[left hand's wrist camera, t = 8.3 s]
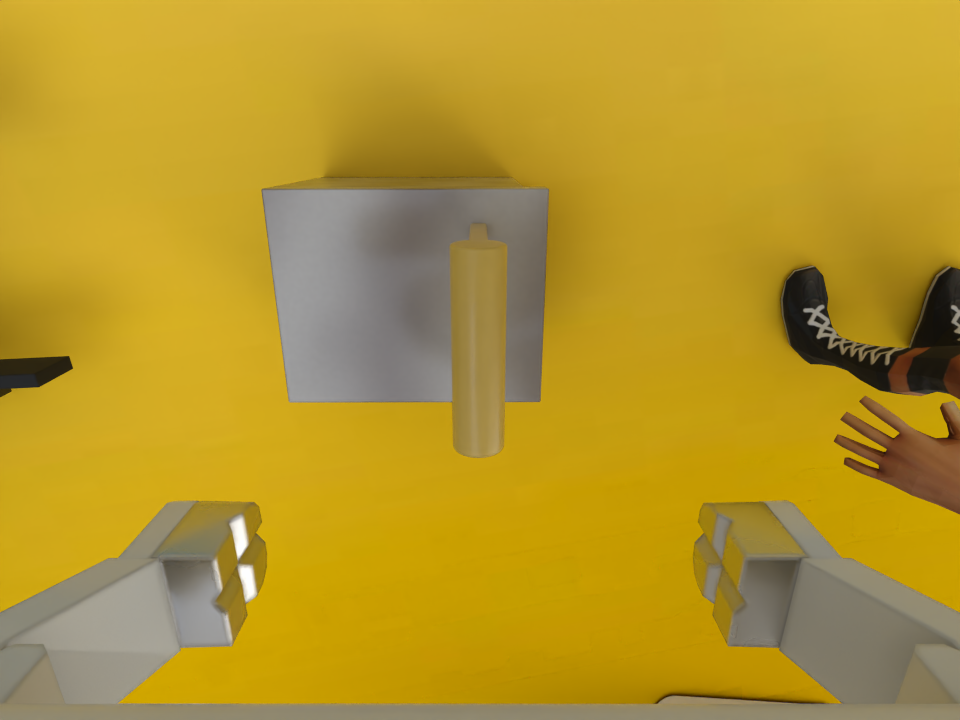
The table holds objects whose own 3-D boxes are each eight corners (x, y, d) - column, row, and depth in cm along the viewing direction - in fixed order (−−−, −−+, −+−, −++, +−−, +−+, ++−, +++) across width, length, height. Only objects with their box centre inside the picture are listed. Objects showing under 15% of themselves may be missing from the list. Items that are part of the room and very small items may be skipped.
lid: (545, 186, 25) (578, 205, 17) (538, 392, 29) (562, 489, 21) (270, 186, 25) (171, 205, 17) (296, 392, 29) (223, 490, 21)
